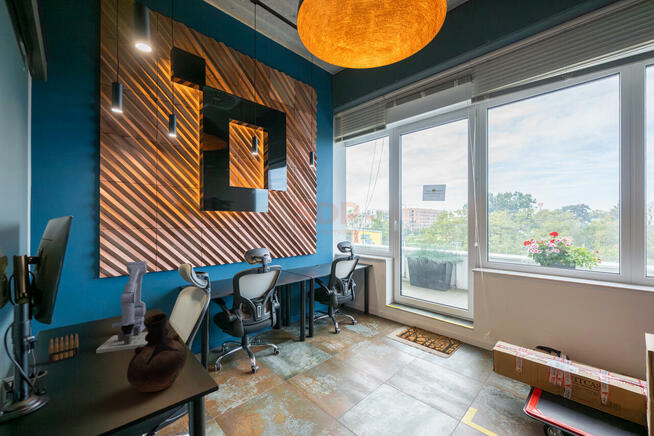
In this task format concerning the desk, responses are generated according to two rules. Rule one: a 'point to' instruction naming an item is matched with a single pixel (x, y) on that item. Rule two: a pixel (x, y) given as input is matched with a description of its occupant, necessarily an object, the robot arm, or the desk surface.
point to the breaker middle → (121, 336)
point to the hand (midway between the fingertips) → (127, 338)
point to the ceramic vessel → (157, 357)
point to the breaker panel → (122, 343)
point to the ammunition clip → (63, 349)
